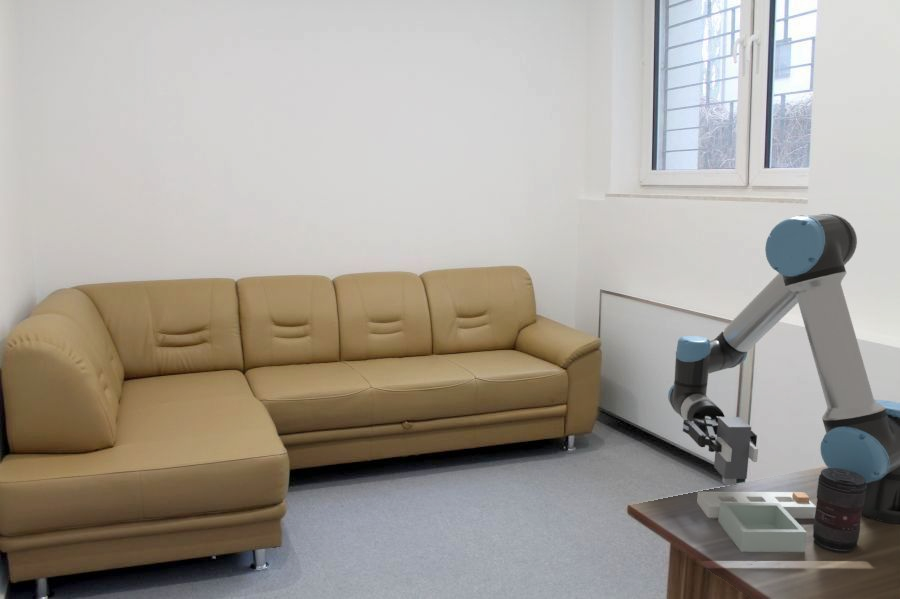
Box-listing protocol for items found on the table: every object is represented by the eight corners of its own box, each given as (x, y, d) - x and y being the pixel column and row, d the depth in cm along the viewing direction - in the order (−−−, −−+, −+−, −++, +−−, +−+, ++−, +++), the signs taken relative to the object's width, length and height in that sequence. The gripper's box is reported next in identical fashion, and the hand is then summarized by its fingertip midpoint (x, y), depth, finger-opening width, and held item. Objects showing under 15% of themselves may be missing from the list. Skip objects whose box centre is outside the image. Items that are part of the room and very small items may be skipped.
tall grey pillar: (734, 477, 166) (739, 417, 163) (745, 489, 160) (751, 427, 157) (713, 477, 166) (718, 416, 163) (723, 489, 160) (728, 427, 157)
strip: (799, 507, 168) (801, 487, 167) (814, 522, 161) (817, 502, 160) (696, 506, 167) (698, 487, 166) (707, 522, 160) (709, 501, 160)
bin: (776, 526, 159) (779, 503, 158) (804, 556, 148) (806, 532, 147) (717, 526, 159) (719, 502, 158) (740, 556, 147) (743, 531, 146)
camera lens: (863, 562, 146) (873, 486, 143) (816, 556, 148) (825, 482, 145) (850, 540, 154) (859, 468, 151) (806, 536, 155) (814, 464, 152)
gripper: (739, 431, 180) (784, 473, 157) (663, 431, 179) (697, 473, 156) (742, 400, 178) (788, 437, 155) (665, 399, 178) (700, 437, 155)
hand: (742, 455), depth 156 cm, fingers closed on tall grey pillar, 4 cm apart
